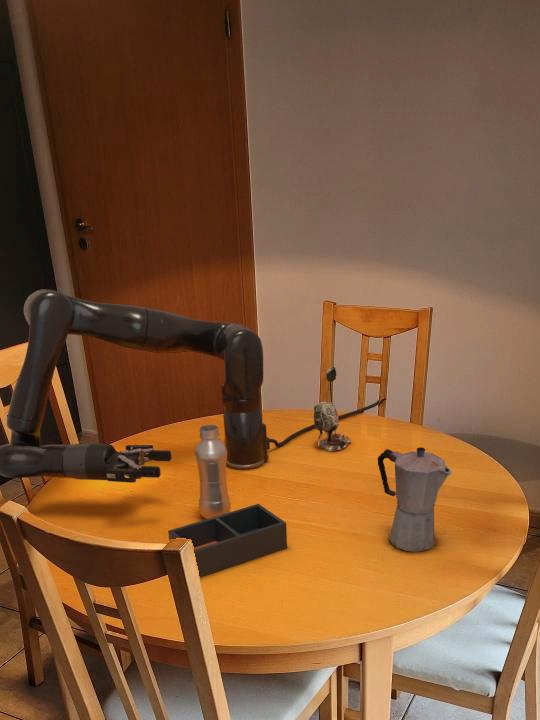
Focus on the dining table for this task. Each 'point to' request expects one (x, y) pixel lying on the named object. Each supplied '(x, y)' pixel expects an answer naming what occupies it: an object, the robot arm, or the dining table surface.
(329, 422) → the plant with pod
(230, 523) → the compartment box
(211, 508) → the plastic bottle
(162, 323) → the robot arm
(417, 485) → the moka pot
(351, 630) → the dining table surface
